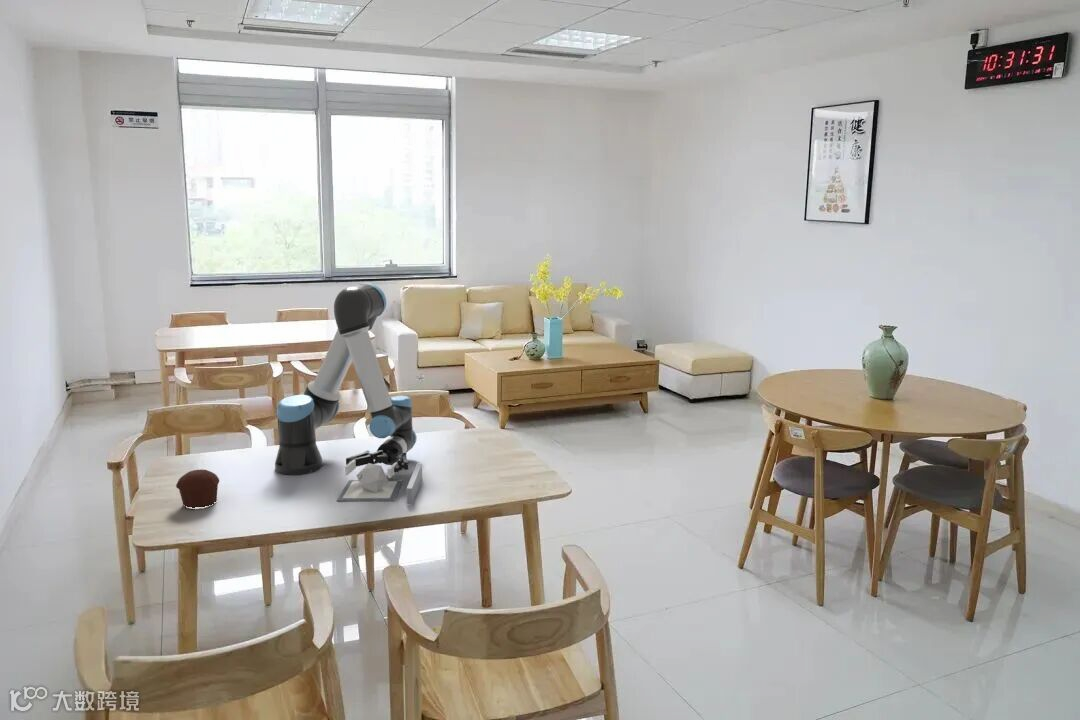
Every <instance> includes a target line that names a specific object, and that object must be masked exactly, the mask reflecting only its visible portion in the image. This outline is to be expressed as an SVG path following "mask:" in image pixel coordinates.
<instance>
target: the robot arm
mask: <svg viewBox="0 0 1080 720" xmlns="http://www.w3.org/2000/svg"><path fill="white" fill-rule="evenodd" d="M386 308H387V298H386V296H385V293H384V291H383V289H382V288H380V287H379V286H378V285H376V284H373V283H361V284H357V285H353V286H350V287H346V288H344V289H342V290H341V291H339V293H338V294H337V295H336V296H335V300H334V303H333V312H334V313H333V314H334V319H335V323H336V326H337V330H336V332H335V334H334V336H333V339H332V341H331V343H330V346H329V347H328V350H327V352H326V355H325V356H324V359H323V362H322V364H321V366H320V368H319V370H318V372H317V373H316V374H317V375H316V376H315V379H314V380H313V381H309V383H308V384H307V385H306V388H305V390H304V392H303V394H295V395H294V394H293V395H291V396H287V397H285V398H282V399H280V400H279V402H277V406H276V409H277V410H276V418H277V432H278V433H277V434H278V445H279V446H278V451H277V454H276V457H275V458H276V459H275V461H274V466H275V467H274V470H275V472H277V473H279V474H282V475H291V476H292V475H294V476H295V475H296V476H297V475H305V474H309V473H314V472H316V471H318V470H320V469H321V468H322V467H323V458H322V455H321V451H320V450H319V447H318V445H317V440H316V439H317V438H316V437H317V436H316V430H317V429H318V428H320V427H321V426H323V425H325V424H327V423H329V422H331V421H332V420H333V419H334V418H335V417H336V415H337V414H338V412H339V409H340V399H341V394H340V388H341V387H342V383H343V382H344V379H345V377H346V375H347V372H348V371H349V368H350V366H351V364H353V367H354V369H355V372H356V376H357V378H358V381H359V384H360V387H361V389H362V393H363V396H364V399H365V401H366V404H367V407H368V410H369V414H370V417H371V420H370V422H369V426H368V427H369V431H370V434H372V435H373V436H374V437H376V438H377V439H386V438H387V439H386V440H385V441H384V442H383V443H382V444H380V445H379V447H378V448H377V450H376V451H375V452H370V450H365V451H364V452H361V453H359V454H355V455H351V456H349V457H346V458H345V466H344V474H345V476H348V475H350V474H351V473H352V472H354V471H355V470H356V469H357V467H360V466H366V465H367V464H368V463H370V464H375V465H378V464H384V465H387V466H390V467H388V469H387V479H391V478H392V477H393V476H394V475H395V474H396V473H399V472H400V471H402V470H404V471H408V470H409V461H408V458H407V456H408V455H407V453H408V452H409V451H411V450H412V449H413V448H414V446H415V444H416V443H417V440H418V439H417V434H416V431H415V430H413V429H414V428H413V406H412V399H411V397H410V396H407V395H395V396H391V397H390V394H389V392H388V387H387V385H386V382H385V378H384V376H383V372H382V370H381V367H380V363H379V361H378V357H377V354H376V352H375V348H374V346H373V342H372V339H371V337H370V333H369V331H372V329H373V327H374V325H375V322H376V321H377V318H378V317H380V316H381V315H382V314H383V312H385V309H386ZM388 437H389V438H388Z"/></svg>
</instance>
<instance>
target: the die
mask: <svg viewBox="0 0 1080 720" xmlns="http://www.w3.org/2000/svg"><path fill="white" fill-rule="evenodd" d="M356 477H357V479H358V480H359V482H360V484H361V486H362V489H363V490H366V491H371V492H375V493H376V492H377V491H378V490H379V489H380V488H381V487H382V486H383V485H384V484H385V483H386V482H387V481H388V480H389V479H388V476H387V475H386V473H385V471H384V469H383V467H382V465H380V464H371V463H368V464H366V465H364V467H363V468H362V469H361V470H360V471H359V472H358V473H357V474H356Z"/></svg>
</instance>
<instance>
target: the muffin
mask: <svg viewBox="0 0 1080 720" xmlns="http://www.w3.org/2000/svg"><path fill="white" fill-rule="evenodd" d="M219 483H220V478H219V476H217V474H216V473H214V472H213V471H210V470H207V469H195V470H190V471H188V472H187V473H185V474H183V475H182V476H180V478H179V479H178V480H177V483H176V485H175V488H177V489H178V490H179V495H180V498H181V501H182V505H183V504H184V505H185V506H187V507H192V508H195V507H205V506H209V505H212V504H214V502H216V501H217V498H218V486H219ZM216 503H217V502H216ZM214 505H215V504H214Z"/></svg>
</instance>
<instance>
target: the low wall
mask: <svg viewBox="0 0 1080 720" xmlns="http://www.w3.org/2000/svg"><path fill="white" fill-rule="evenodd" d="M422 481H423V464H422V463H416V465H415V467H414V470H413V471H412V475H411V477H410V479H409V481H408V484H407V487H406V505H408V506H409V505H410V506H411V505H413V504H414V501H415V500H416V496H417V493H418V491H419V488H420V486H421V483H422Z"/></svg>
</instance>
